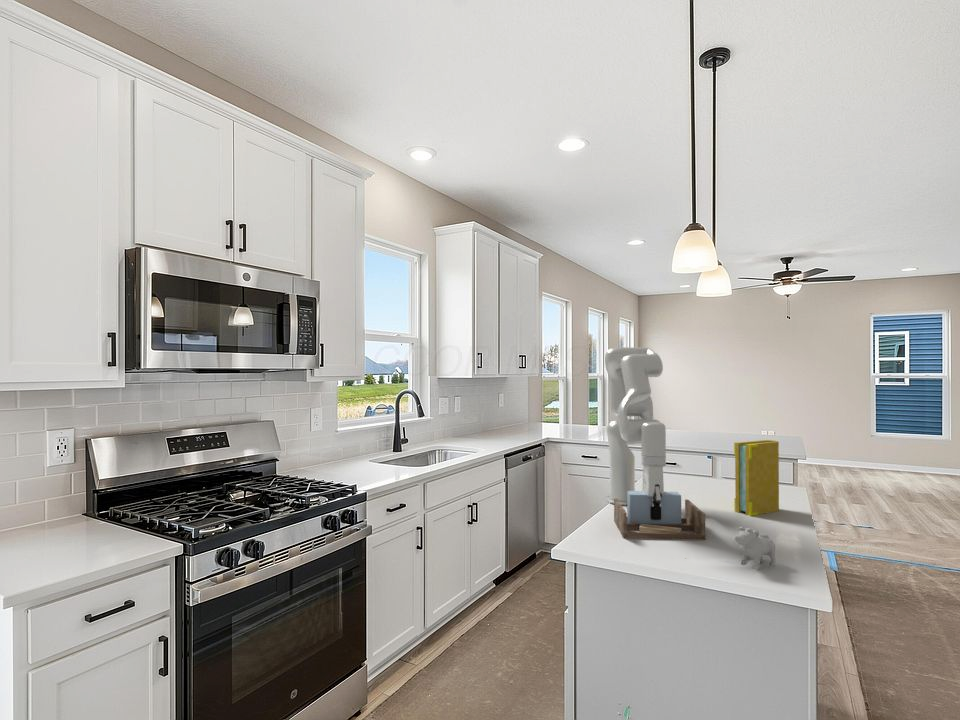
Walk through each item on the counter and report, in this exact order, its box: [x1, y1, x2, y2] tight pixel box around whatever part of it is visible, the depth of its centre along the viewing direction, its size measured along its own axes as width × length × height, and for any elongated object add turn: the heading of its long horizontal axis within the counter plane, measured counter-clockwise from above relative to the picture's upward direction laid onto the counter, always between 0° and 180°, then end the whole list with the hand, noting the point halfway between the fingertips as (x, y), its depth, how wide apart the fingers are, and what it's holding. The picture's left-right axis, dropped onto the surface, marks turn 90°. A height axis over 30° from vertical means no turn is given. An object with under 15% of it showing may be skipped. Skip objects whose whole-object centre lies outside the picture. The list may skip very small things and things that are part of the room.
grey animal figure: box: [734, 526, 776, 571], centre depth 151 cm, size 5×13×11 cm, turn 118°
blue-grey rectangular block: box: [626, 490, 682, 525], centre depth 183 cm, size 5×16×12 cm, turn 85°
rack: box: [613, 498, 706, 541], centre depth 178 cm, size 18×24×9 cm
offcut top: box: [638, 524, 682, 533], centre depth 174 cm, size 4×12×2 cm, turn 66°
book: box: [733, 439, 780, 517], centre depth 205 cm, size 17×7×25 cm, turn 114°
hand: (653, 516), depth 183 cm, fingers closed on blue-grey rectangular block, 5 cm apart
